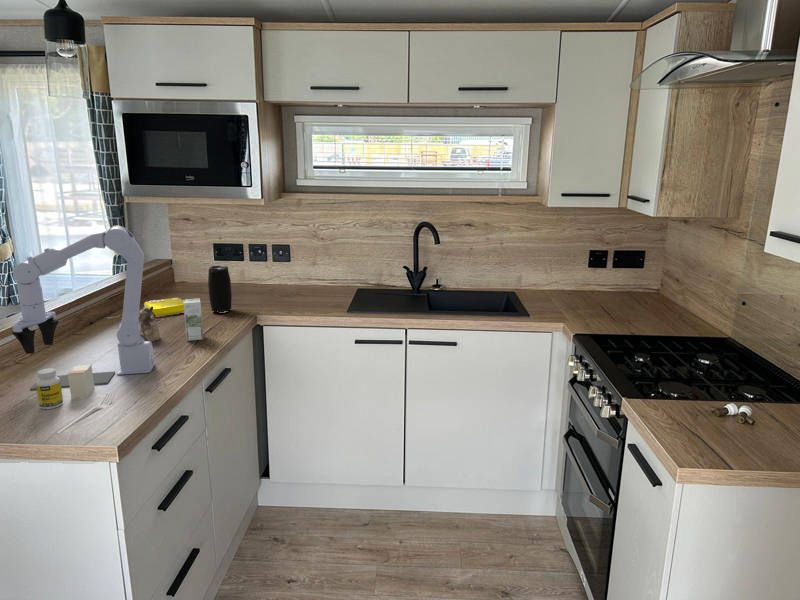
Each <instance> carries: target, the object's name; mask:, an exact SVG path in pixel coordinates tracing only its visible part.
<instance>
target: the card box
mask: <svg viewBox="0 0 800 600" xmlns="http://www.w3.org/2000/svg"><path fill="white" fill-rule="evenodd" d="M93 373H94V372H93V368H92V364H84V365H83V364H81V365H75V366H74V367H73V369H71V370H70V371H69V372H68V373H67V375H68V380H69V386H70V387H69V392H70V393H69V394H70V397H71V398H73V399H84V398H83V397H85V398H88V397H89V396H90V395H91V393H92V392H93V390H94V389H95V385H94V380H93ZM91 391H92V392H91ZM71 398H70V399H71Z"/></svg>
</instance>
